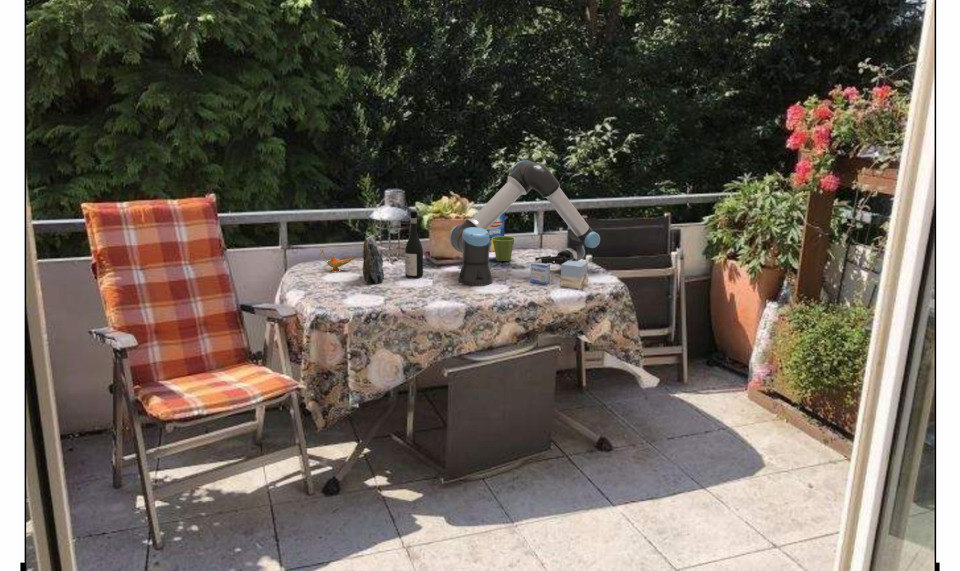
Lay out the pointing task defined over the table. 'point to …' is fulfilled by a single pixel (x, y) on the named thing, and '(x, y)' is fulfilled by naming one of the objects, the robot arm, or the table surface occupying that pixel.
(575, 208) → the robot arm
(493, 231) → the beverage box
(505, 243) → the plant pot
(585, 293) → the table surface
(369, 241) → the stone block
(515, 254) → the table surface
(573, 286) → the tower base block
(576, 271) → the tower top block
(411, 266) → the wine bottle
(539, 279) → the medicine box
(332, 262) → the magic lamp
